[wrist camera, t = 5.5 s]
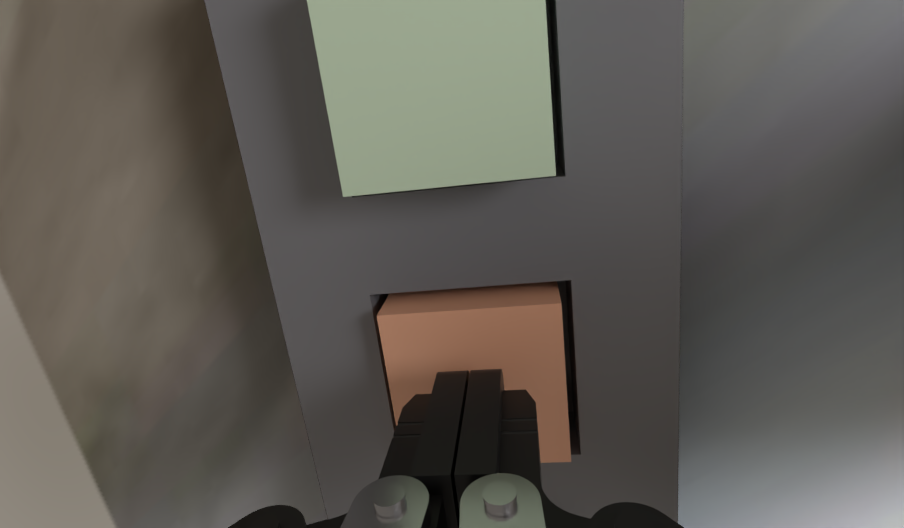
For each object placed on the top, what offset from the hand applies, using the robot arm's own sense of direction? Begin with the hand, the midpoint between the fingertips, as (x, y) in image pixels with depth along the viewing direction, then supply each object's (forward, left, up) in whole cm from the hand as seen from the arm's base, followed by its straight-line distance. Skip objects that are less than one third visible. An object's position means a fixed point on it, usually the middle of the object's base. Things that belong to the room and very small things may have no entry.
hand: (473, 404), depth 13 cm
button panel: (0, 0, -5) cm, 5 cm away
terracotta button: (0, 0, -3) cm, 3 cm away
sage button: (-7, 0, -2) cm, 8 cm away
